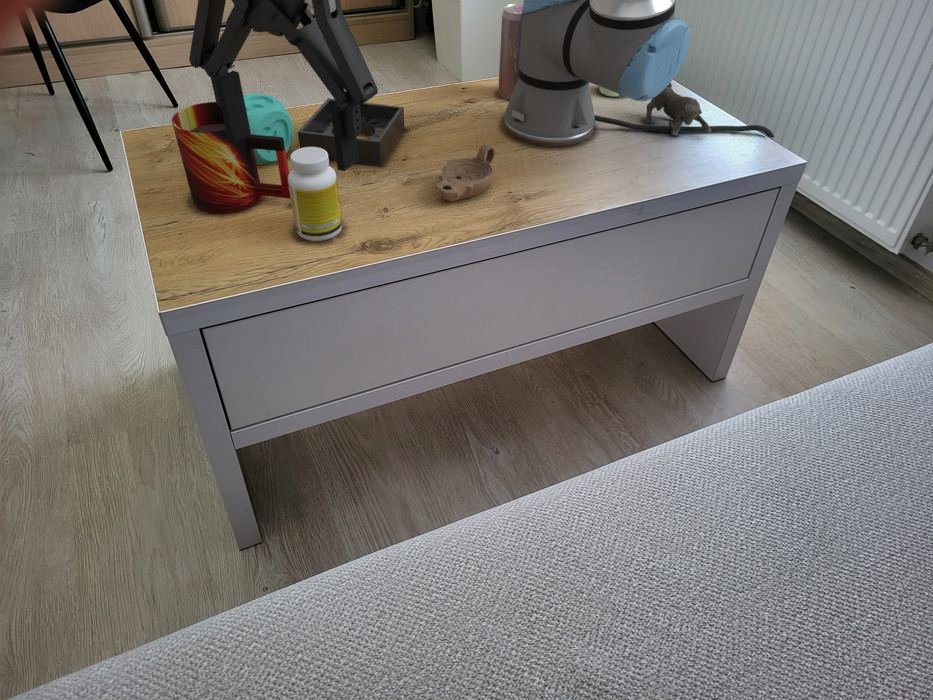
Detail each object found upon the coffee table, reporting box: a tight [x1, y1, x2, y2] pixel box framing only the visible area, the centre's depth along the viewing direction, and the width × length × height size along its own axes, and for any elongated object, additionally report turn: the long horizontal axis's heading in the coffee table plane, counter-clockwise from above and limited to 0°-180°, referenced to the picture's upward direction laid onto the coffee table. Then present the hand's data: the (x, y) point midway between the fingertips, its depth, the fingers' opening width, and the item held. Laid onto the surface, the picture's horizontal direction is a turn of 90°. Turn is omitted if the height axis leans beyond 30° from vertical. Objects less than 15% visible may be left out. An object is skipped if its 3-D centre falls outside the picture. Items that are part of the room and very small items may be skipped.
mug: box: [171, 101, 291, 215], centre depth 99 cm, size 10×14×12 cm
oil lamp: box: [434, 143, 496, 202], centre depth 105 cm, size 13×8×5 cm, turn 143°
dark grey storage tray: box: [297, 97, 406, 167], centre depth 115 cm, size 13×13×4 cm
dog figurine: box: [645, 81, 713, 137], centre depth 120 cm, size 12×6×7 cm, turn 30°
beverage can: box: [497, 2, 523, 101], centre depth 127 cm, size 6×6×15 cm
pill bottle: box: [288, 147, 343, 242], centre depth 93 cm, size 6×6×11 cm
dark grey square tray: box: [314, 113, 397, 162], centre depth 116 cm, size 13×13×2 cm
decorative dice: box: [243, 93, 295, 166], centre depth 110 cm, size 8×8×8 cm
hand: (292, 150), depth 74 cm, fingers open, 13 cm apart
